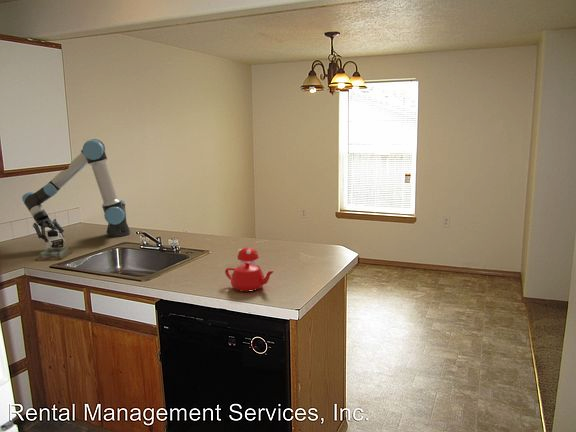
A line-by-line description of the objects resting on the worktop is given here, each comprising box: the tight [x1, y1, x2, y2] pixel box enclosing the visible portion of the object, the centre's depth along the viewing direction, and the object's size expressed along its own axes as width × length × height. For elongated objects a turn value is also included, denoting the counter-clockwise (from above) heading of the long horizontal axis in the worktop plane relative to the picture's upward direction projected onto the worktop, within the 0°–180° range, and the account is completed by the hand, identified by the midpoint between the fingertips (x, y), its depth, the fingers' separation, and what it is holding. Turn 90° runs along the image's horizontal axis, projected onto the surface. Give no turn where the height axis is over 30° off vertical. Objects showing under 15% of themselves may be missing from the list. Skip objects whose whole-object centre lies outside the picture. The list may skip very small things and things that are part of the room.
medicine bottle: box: [45, 229, 65, 250], centre depth 282 cm, size 7×7×12 cm
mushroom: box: [237, 246, 260, 266], centre depth 238 cm, size 11×11×12 cm
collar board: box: [35, 247, 73, 261], centre depth 269 cm, size 14×14×4 cm
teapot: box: [224, 262, 275, 292], centre depth 213 cm, size 25×16×12 cm, turn 66°
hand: (57, 244), depth 280 cm, fingers closed on medicine bottle, 7 cm apart
